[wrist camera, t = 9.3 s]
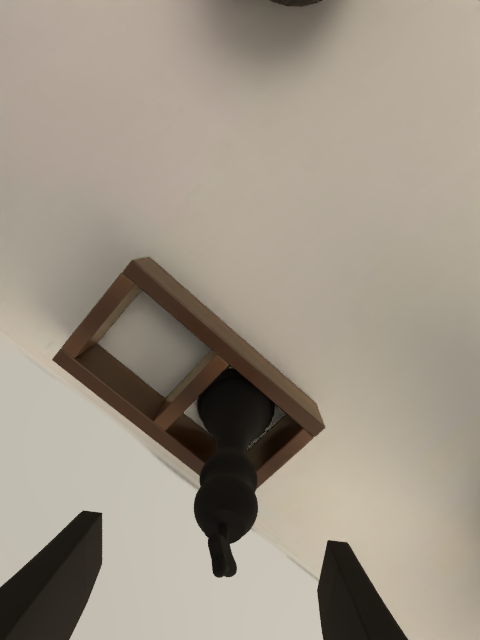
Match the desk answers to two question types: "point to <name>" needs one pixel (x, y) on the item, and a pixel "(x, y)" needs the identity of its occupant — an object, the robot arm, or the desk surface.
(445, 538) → the desk surface
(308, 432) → the holder
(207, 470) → the chess piece
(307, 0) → the light bulb
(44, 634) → the robot arm
